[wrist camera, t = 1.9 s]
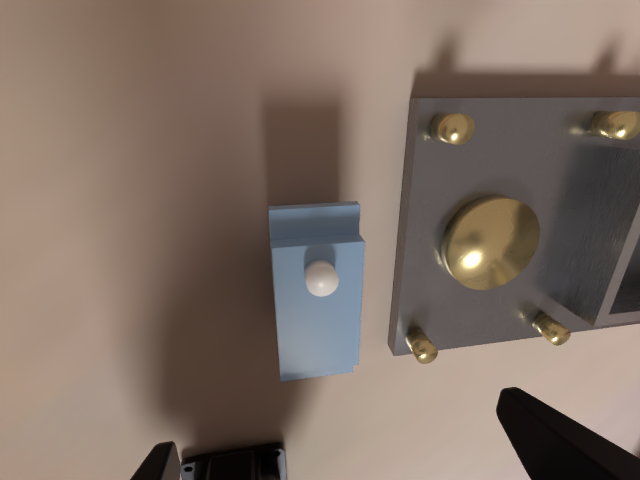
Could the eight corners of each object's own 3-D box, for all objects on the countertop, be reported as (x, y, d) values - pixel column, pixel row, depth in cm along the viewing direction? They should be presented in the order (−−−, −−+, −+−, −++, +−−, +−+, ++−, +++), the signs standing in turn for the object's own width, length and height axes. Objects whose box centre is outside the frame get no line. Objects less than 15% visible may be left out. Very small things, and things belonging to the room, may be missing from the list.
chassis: (632, 313, 23) (685, 344, 21) (388, 344, 21) (409, 384, 18) (724, 96, 18) (813, 95, 15) (410, 98, 15) (446, 97, 12)
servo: (345, 324, 20) (373, 395, 15) (276, 332, 19) (282, 409, 14) (349, 182, 16) (387, 216, 12) (266, 186, 16) (270, 223, 11)
